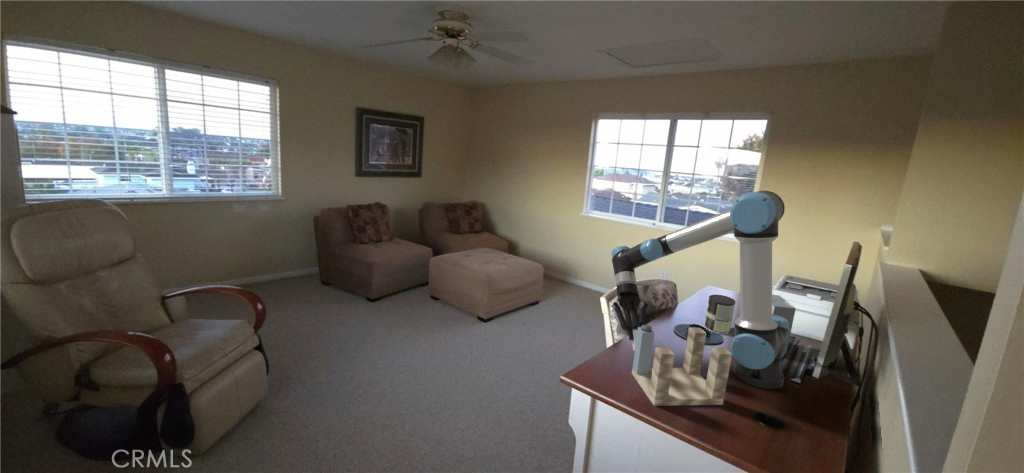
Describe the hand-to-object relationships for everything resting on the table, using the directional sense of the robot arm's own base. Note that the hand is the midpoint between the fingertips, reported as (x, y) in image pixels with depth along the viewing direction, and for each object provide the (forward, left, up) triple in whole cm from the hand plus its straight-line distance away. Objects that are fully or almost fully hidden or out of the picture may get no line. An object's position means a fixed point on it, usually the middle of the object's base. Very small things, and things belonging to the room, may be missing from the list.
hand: (636, 349), depth 143 cm
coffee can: (-51, -34, -9) cm, 62 cm away
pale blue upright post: (-1, +3, -6) cm, 7 cm away
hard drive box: (-63, -18, -9) cm, 66 cm away
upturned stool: (-10, +10, -8) cm, 16 cm away
